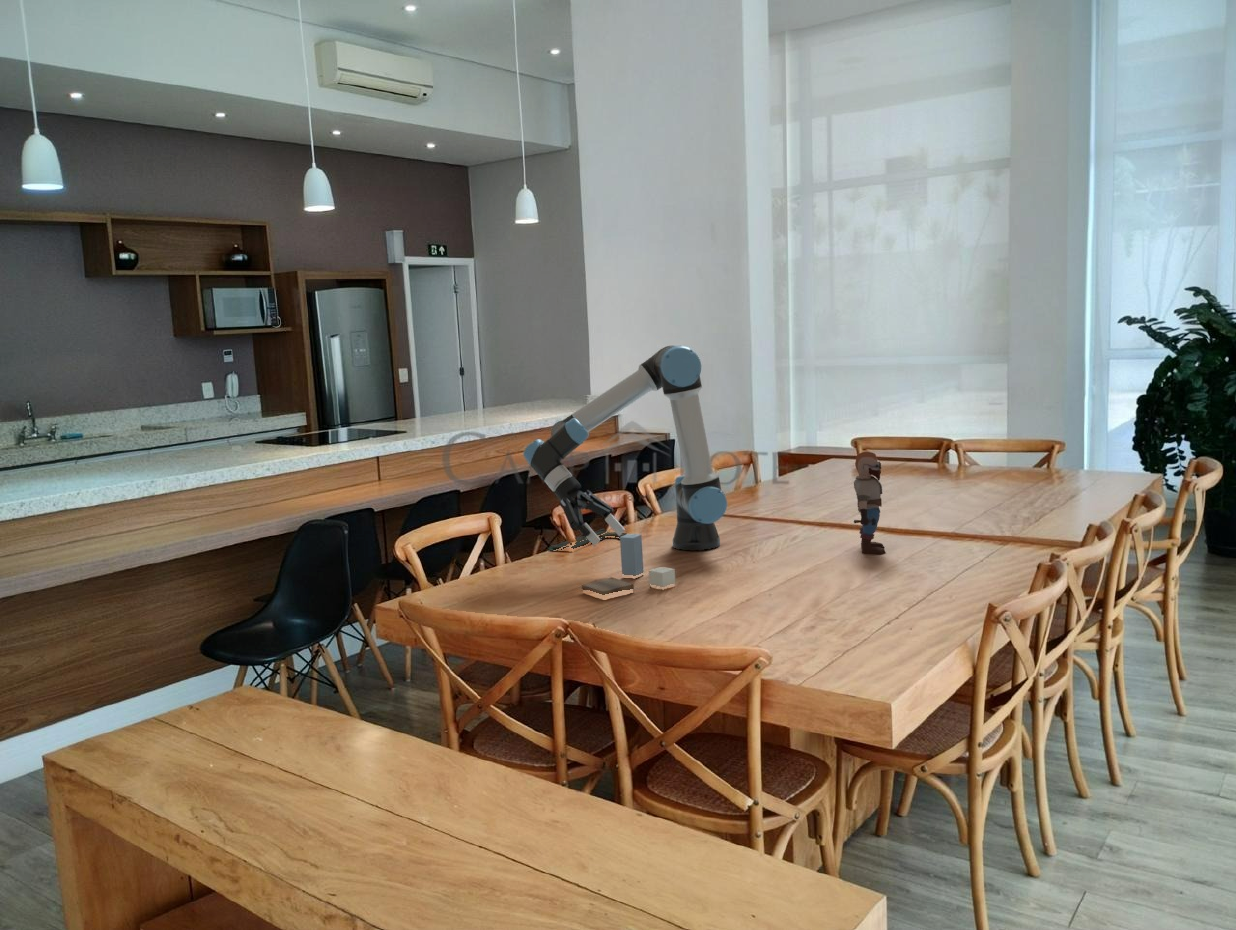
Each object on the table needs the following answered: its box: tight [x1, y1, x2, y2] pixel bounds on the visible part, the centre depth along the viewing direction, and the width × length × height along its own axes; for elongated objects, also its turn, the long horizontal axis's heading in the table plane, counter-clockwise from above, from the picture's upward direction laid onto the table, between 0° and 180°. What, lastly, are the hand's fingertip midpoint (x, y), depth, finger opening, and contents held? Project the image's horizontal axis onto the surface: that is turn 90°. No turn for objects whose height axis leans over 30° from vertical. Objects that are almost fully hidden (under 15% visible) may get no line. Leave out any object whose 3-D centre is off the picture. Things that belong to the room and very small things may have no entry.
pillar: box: [619, 533, 645, 576], centre depth 281 cm, size 4×4×12 cm
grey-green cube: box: [648, 566, 676, 587], centre depth 268 cm, size 5×5×5 cm
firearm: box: [548, 528, 628, 552], centre depth 328 cm, size 28×2×15 cm
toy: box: [853, 451, 887, 555], centre depth 294 cm, size 22×9×30 cm, turn 168°
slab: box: [581, 577, 635, 595], centre depth 265 cm, size 10×10×3 cm
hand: (610, 537), depth 282 cm, fingers open, 13 cm apart
